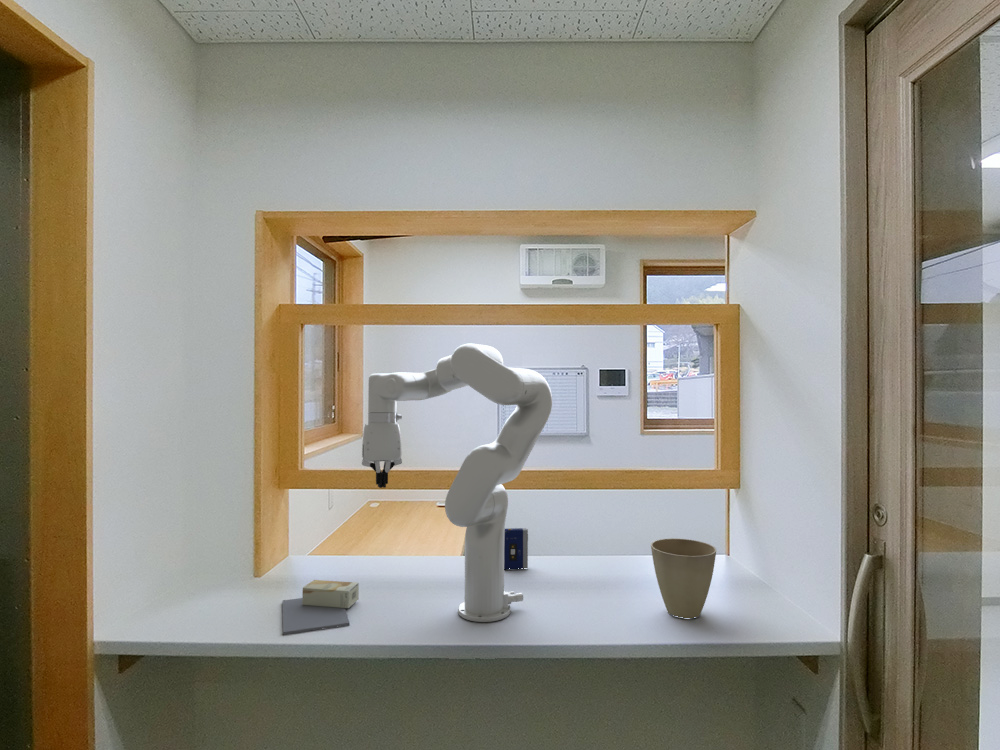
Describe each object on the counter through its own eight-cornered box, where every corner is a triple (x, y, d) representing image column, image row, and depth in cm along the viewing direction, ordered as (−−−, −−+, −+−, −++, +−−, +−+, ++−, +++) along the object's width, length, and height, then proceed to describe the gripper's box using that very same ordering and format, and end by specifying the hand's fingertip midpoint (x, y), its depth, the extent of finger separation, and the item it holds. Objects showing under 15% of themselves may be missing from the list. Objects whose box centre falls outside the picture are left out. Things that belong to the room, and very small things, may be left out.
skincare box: (348, 590, 136) (301, 587, 138) (348, 609, 136) (301, 605, 138) (359, 581, 142) (314, 578, 144) (359, 599, 142) (313, 596, 144)
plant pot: (638, 606, 139) (638, 541, 140) (688, 599, 144) (687, 536, 145) (678, 630, 125) (677, 558, 126) (731, 621, 130) (730, 551, 131)
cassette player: (503, 570, 167) (503, 529, 168) (502, 567, 170) (502, 527, 170) (528, 569, 168) (528, 529, 168) (527, 567, 170) (527, 527, 171)
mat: (340, 595, 146) (340, 593, 147) (349, 625, 128) (349, 622, 128) (282, 602, 141) (282, 600, 141) (283, 635, 123) (283, 632, 123)
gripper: (406, 418, 160) (406, 483, 159) (352, 418, 154) (351, 486, 153) (412, 419, 153) (412, 487, 152) (356, 420, 147) (355, 491, 147)
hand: (381, 486), depth 153 cm, fingers closed
